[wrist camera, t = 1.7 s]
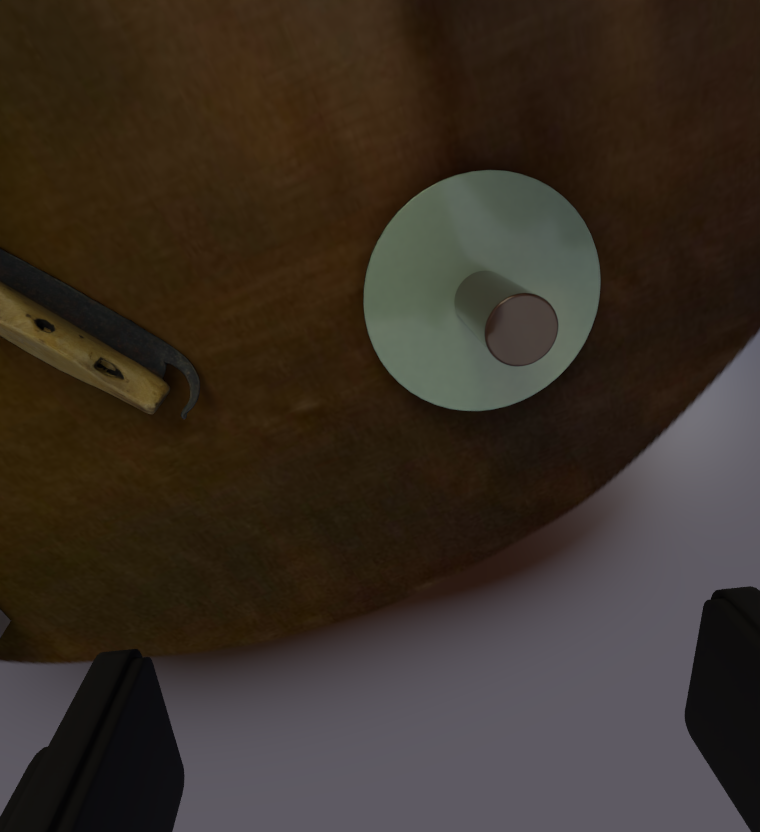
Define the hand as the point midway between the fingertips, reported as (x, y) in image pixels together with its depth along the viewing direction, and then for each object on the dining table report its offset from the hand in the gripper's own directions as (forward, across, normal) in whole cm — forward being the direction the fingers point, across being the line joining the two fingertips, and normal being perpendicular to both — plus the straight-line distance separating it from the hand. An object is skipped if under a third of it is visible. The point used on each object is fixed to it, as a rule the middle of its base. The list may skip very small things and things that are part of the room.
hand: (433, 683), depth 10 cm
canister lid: (+16, -4, -3) cm, 17 cm away
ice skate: (+17, +12, -5) cm, 22 cm away
